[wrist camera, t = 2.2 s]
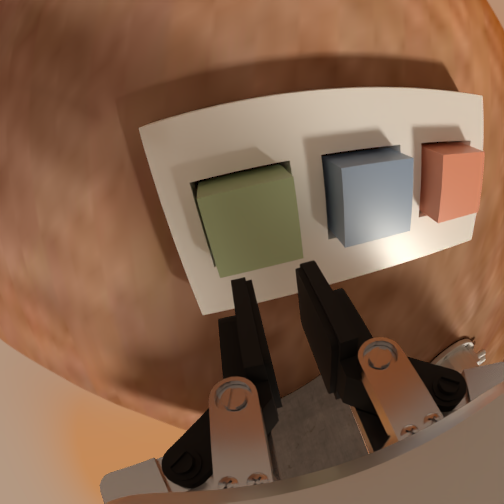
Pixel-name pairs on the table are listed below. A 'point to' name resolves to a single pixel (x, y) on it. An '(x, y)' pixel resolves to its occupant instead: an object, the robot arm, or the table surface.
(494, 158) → the table surface
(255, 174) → the olive green button
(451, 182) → the terracotta button
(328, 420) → the hip flask
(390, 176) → the slate blue button
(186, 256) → the button board
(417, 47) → the table surface
